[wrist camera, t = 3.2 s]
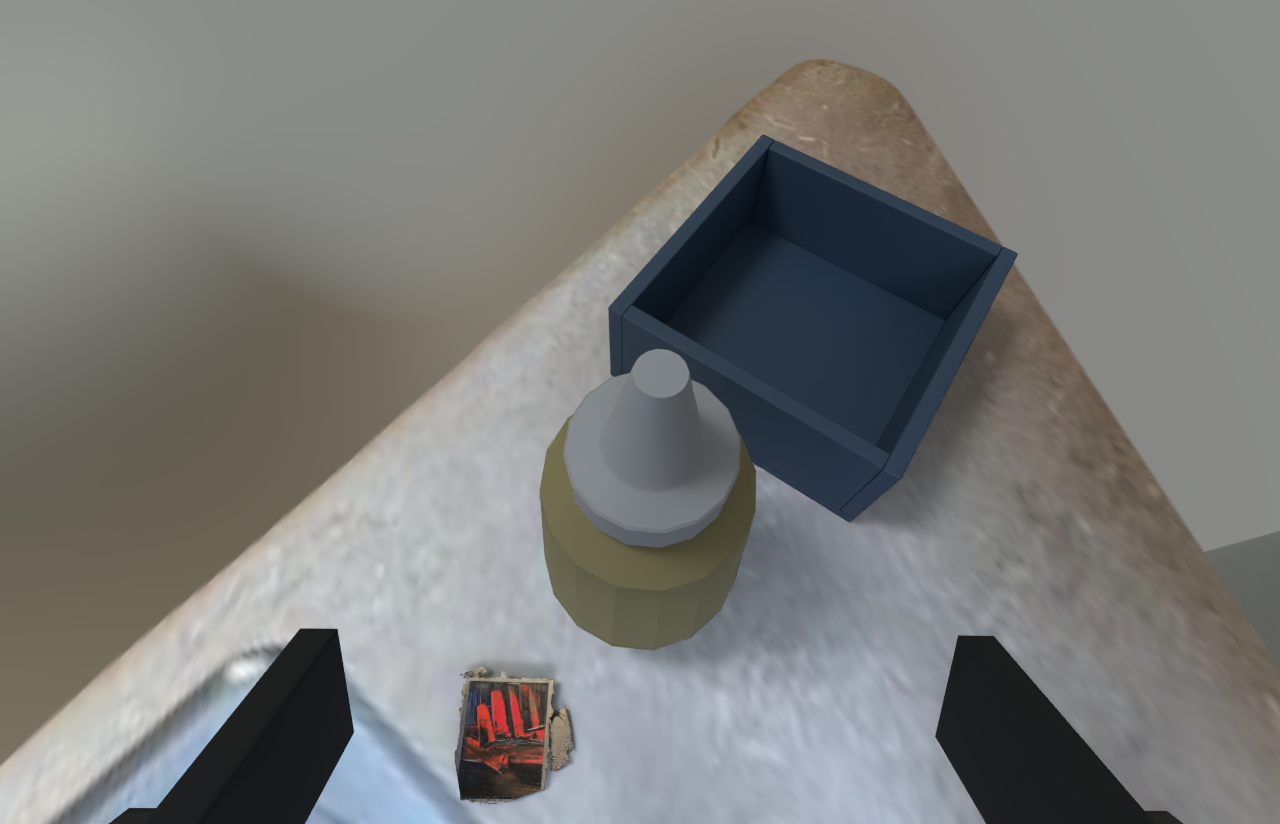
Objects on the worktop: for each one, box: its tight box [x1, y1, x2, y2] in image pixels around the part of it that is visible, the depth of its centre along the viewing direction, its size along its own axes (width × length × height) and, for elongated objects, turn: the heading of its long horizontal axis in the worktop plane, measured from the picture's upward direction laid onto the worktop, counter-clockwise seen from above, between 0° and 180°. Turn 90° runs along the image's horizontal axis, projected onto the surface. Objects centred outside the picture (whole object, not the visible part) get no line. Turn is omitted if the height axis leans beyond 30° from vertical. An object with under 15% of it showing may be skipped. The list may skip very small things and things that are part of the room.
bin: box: [608, 135, 1018, 522], centre depth 31 cm, size 15×15×6 cm
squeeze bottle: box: [540, 349, 756, 650], centre depth 20 cm, size 8×8×18 cm
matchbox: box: [455, 667, 573, 804], centre depth 25 cm, size 5×5×1 cm
